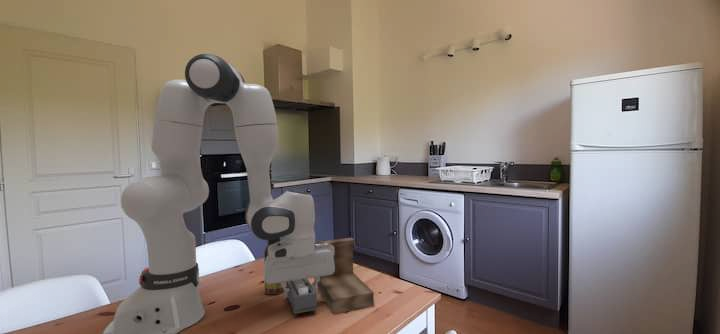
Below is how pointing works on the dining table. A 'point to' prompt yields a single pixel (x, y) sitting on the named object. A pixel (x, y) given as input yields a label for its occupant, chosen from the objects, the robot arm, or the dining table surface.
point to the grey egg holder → (302, 296)
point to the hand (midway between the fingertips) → (300, 293)
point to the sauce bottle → (274, 287)
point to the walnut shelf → (344, 281)
